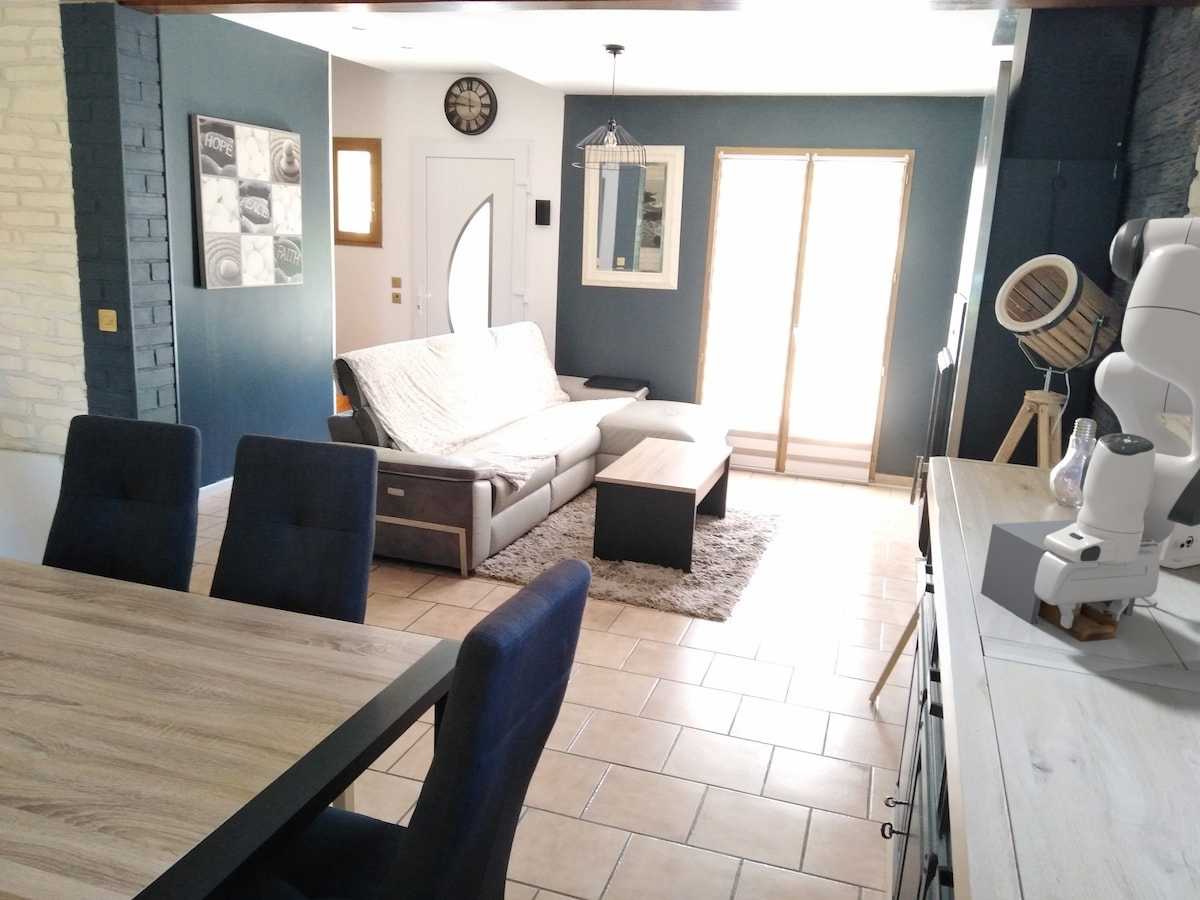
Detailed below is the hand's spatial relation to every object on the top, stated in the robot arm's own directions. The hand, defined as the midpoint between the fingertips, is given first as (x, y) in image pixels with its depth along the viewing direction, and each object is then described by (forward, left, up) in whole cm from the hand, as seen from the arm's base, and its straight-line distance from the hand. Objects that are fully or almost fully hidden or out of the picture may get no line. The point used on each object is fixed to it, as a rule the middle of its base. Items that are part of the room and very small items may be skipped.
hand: (1088, 624), depth 140 cm
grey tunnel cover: (-3, -11, -2) cm, 11 cm away
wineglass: (-19, -11, -2) cm, 22 cm away
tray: (0, -5, -2) cm, 5 cm away
